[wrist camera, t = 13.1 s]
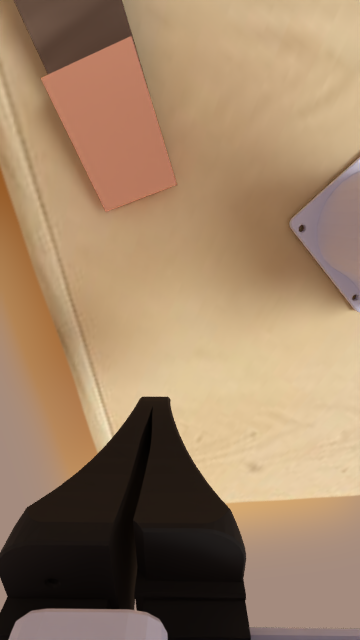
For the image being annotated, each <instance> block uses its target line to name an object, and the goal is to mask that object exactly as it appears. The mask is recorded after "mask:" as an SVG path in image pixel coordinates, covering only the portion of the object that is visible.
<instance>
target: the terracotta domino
mask: <svg viewBox="0 0 360 640" xmlns="http://www.w3.org/2000/svg"><path fill="white" fill-rule="evenodd" d="M41 80H42V82H43V84H44V86H45V88H46V90H47V92H48V94H49V96H50V98H51V100H52V102H53V105H54V107H55V109H56V111H57V113H58V115H59V117H60V119H61V121H62V123H63V125H64V127H65V129H66V131H67V133H68V135H69V137H70V139H71V141H72V144H73V146H74V148H75V150H76V152H77V154H78V156H79V158H80V160H81V162H82V164H83V166H84V168H85V170H86V172H87V174H88V176H89V178H90V180H91V183H92V185H93V187H94V189H95V191H96V193H97V195H98V197H99V199H100V201H101V203H102V205H103V207H104V209H105V211H106V212H107V211H110V210H112V209H115V208H117V207H120V206H123V205H125V204H128V203H131V202H133V201H136V200H138V199H141V198H144V197H146V196H149V195H152V194H154V193H157V192H159V191H162V190H165V189H167V188H170V187H173V186H175V185H177V183H176V179H175V176H174V173H173V170H172V166H171V163H170V160H169V157H168V153H167V150H166V147H165V144H164V140H163V137H162V134H161V131H160V127H159V124H158V121H157V118H156V114H155V111H154V108H153V105H152V101H151V98H150V95H149V92H148V88H147V85H146V82H145V79H144V75H143V72H142V69H141V66H140V62H139V59H138V56H137V53H136V49H135V46H134V43H133V40H132V36H130V37H128V38H126V39H124V40H121V41H119V42H117V43H115V44H113V45H111V46H109V47H106V48H104V49H102V50H100V51H98V52H96V53H93V54H91V55H89V56H87V57H85V58H83V59H80V60H78V61H76V62H74V63H72V64H70V65H68V66H65V67H63V68H61V69H59V70H57V71H55V72H52V73H50V74H48V75H46V76H44V77H42V78H41Z"/></svg>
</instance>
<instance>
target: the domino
mask: <svg viewBox="0 0 360 640" xmlns="http://www.w3.org/2000/svg"><path fill="white" fill-rule="evenodd" d="M14 2H15V4H16V6H17V9H18V11H19V13H20V15H21V17H22V19H23V21H24V24H25V26H26V28H27V30H28V32H29V34H30V37H31V39H32V41H33V43H34V45H35V47H36V50H37V52H38V54H39V56H40V58H41V60H42V62H43V65H44V67H45V69H46V71H47V73H48V74H50V73H52V72H55V71H57V70H59V69H61V68H63V67H65V66H68V65H70V64H72V63H74V62H76V61H78V60H80V59H83V58H85V57H87V56H89V55H91V54H93V53H96V52H98V51H100V50H102V49H104V48H106V47H109V46H111V45H113V44H115V43H117V42H119V41H121V40H124V39H126V38H128V37H130V36H132V33H131V30H130V26H129V23H128V20H127V16H126V13H125V10H124V6H123V3H122V0H14ZM132 40H133V37H132ZM133 43H134V40H133ZM134 46H135V43H134ZM135 49H136V47H135ZM136 53H137V50H136ZM137 56H138V54H137ZM138 59H139V57H138ZM139 62H140V60H139ZM140 66H141V64H140ZM141 69H142V67H141ZM142 72H143V71H142ZM143 75H144V74H143ZM144 79H145V77H144ZM145 82H146V81H145ZM146 85H147V84H146ZM147 88H148V87H147Z"/></svg>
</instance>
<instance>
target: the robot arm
mask: <svg viewBox="0 0 360 640" xmlns="http://www.w3.org/2000/svg"><path fill="white" fill-rule="evenodd" d="M301 225H303V226H304V230H303V231H302V232H300V231H299V227H300V226H301ZM289 226H290V228H291V229H292V231H293V232H294V233H295V234H296V236H297V237H298V238H299V240H300V241H301V242H302V243H303V245H304V246H305V247H306V248H307V250H308V251H309V252H310V254H311V255H312V256H313V257H314V259H315V260H316V261H317V263H318V264H319V265H320V266H321V268H322V269H323V270H324V271H325V273H326V274H327V275H328V277H329V278H330V279H331V280H332V282H333V283H334V284H335V286H336V287H337V288H338V289H339V291H340V292H341V293H342V294H343V296H344V297H345V298H346V300H347V301H348V302H349V303H350V305H351V306H352V307H353V309H354V310H356V311H357V312H360V157H359V158H358V159H357V160H356V161H354V162H353V163H352V164H351V165H350V166H349V167H348V168H347V169H346V170H344V171H343V172H342V173H341V174H340V175H339V176H338V177H337V178H336V179H334V180H333V181H332V182H331V183H330V184H329V185H328V186H327V187H326V188H325V189H323V190H322V191H321V192H320V193H319V194H318V195H317V196H316V197H315V198H313V199H312V200H311V201H310V202H309V203H308V204H307V205H306V206H305V207H303V208H302V209H301V210H300V211H299V212H298V213H297V214H296V215H295V216H293V217H292V219H291V220H290V222H289ZM355 294H356V297H355V299H352V297H353V296H354V295H355ZM245 562H246V552H245V547H244V543H243V540H242V537H241V534H240V531H239V529H238V526H237V523H236V521H235V519H234V516H233V514H232V512H231V510H230V509H229V508H228V506H227V505H226V504H225V503H224V502H223V501H222V500H221V499H220V498H219V496H218V495H217V494H216V493H215V492H214V490H213V489H212V488H211V487H210V485H209V484H208V483H207V481H206V480H205V478H204V477H203V476H202V474H201V473H200V471H199V470H198V468H197V467H196V465H195V464H194V462H193V460H192V459H191V457H190V455H189V453H188V451H187V450H186V448H185V446H184V444H183V441H182V439H181V437H180V435H179V432H178V430H177V427H176V424H175V421H174V418H173V415H172V411H171V406H170V398H169V397H142V398H140V400H139V402H138V403H137V405H136V407H135V408H134V410H133V411H132V413H131V414H130V416H129V417H128V418H127V420H126V421H125V423H124V424H123V425H122V427H121V428H120V429H119V430H118V432H117V433H116V434H115V435H114V436H113V438H112V439H111V440H110V441H109V442H108V443H107V445H106V446H105V447H104V448H103V449H102V450H101V451H100V452H99V453H98V454H97V455H96V456H95V457H94V458H93V459H92V460H91V461H90V462H89V463H87V465H85V466H84V467H83V468H82V469H81V470H80V471H79V472H78V473H76V474H75V475H73V476H72V477H71V478H70V479H68V480H67V481H66V482H64V483H63V484H62V485H61V486H59V487H58V488H56V489H55V490H53V491H52V492H51V493H49V494H47V495H46V496H44V497H43V498H41V499H40V500H38V501H37V502H35V503H34V504H32V505H30V506H29V507H27V508H26V510H25V511H24V513H23V514H22V516H21V517H20V519H19V520H18V522H17V523H16V525H15V527H14V528H13V530H12V532H11V534H10V536H9V538H8V539H7V541H6V543H5V545H4V547H3V549H2V550H1V552H0V578H1V581H2V583H3V586H4V588H5V591H6V593H7V596H8V597H7V600H6V602H5V604H4V606H3V608H2V610H1V612H0V640H360V629H358V628H274V627H271V628H270V627H249V622H248V616H247V610H246V604H245V600H246V593H245V587H244V581H243V577H244V570H245ZM135 599H136V608H137V611H135V610H134V604H135Z"/></svg>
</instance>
